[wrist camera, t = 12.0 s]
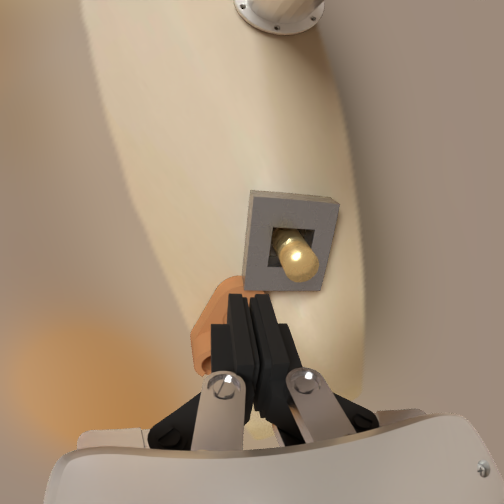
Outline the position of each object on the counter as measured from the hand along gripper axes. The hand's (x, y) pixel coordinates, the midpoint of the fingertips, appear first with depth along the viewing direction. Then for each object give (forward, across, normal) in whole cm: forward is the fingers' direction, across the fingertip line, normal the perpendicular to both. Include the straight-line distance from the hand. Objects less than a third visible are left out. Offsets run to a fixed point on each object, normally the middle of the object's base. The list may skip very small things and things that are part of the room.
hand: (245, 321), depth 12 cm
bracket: (+30, -2, +23) cm, 38 cm away
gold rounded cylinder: (+29, -10, +8) cm, 32 cm away
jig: (+29, -10, +8) cm, 32 cm away
